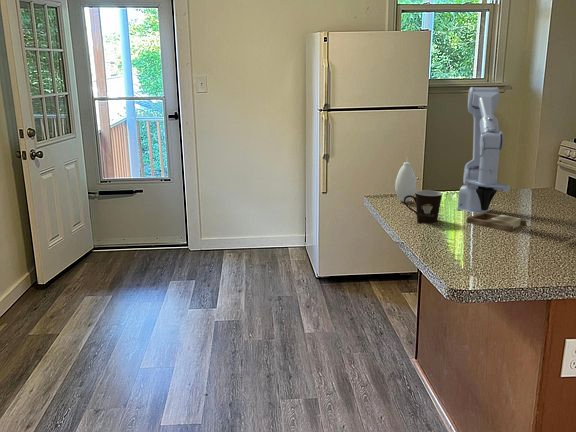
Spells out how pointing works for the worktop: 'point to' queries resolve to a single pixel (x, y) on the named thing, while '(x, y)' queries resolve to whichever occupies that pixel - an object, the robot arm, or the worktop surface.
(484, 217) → the walnut box
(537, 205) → the worktop surface
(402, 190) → the sauce bottle
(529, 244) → the worktop surface
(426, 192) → the coffee mug
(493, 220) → the beige rectangular block
